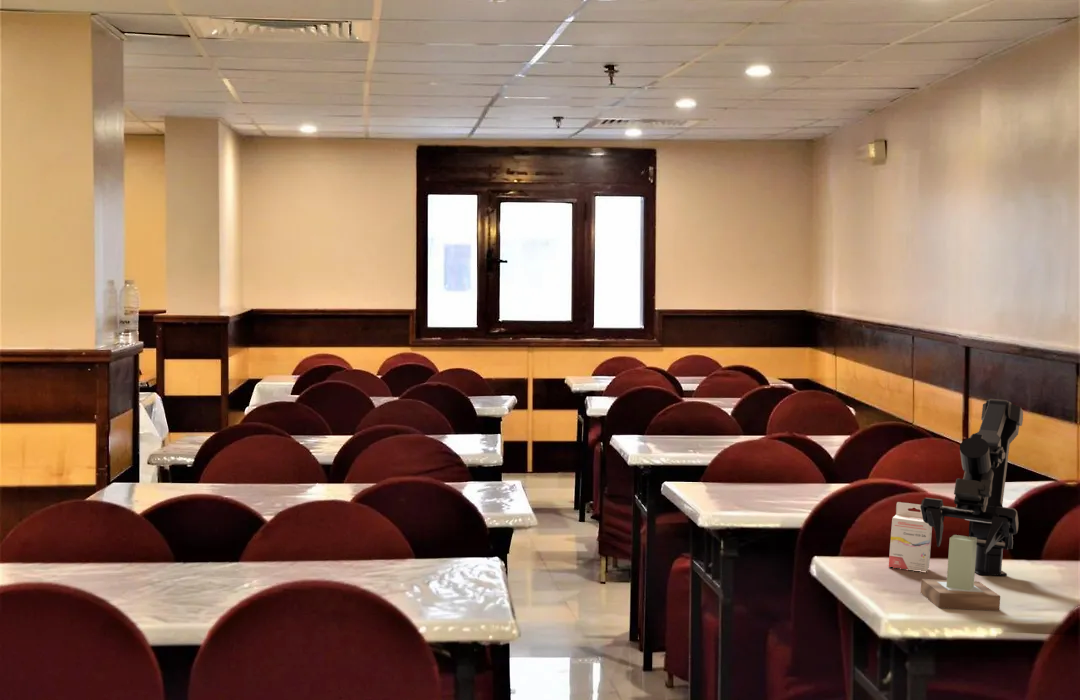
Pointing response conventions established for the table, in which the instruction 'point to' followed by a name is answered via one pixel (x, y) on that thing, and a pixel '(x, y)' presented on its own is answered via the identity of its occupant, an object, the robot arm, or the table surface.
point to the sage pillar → (961, 562)
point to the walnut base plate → (960, 596)
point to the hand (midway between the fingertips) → (961, 548)
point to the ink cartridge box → (909, 539)
